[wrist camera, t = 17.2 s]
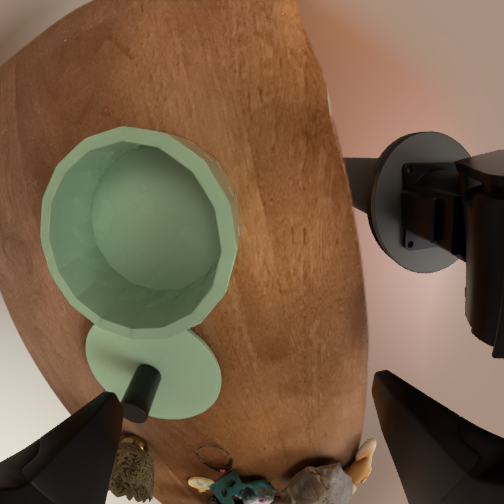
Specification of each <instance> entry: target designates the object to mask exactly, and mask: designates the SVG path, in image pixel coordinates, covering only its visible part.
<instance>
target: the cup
mask: <svg viewBox="0 0 504 504" xmlns="http://www.w3.org/2000/svg"><path fill="white" fill-rule="evenodd" d="M148 450H149V449H148V445H147V443H146V442H145V441H144V440H143V439H141V438H139V437H137V436H134V435H125V436H123V437H122V438H121V440H120V442H119V446H118V451H117V455H116V459H115V463H114V467H113V471H112V475H111V479H110V483H109V488H108V491H109V490H111V492H112V493H113V494H114V495H115V496H116V497H121V496H124V495H127V498H128V500H131V499H132V497H133V496H134V498H135V500H136V501H137V502H140V501H143V502H145V501H146V499H149V502H150V500H151V499H152V495H153V485H154V463H153V460H152V458H151V457H150V455H149V454H148V453H147V452H148Z"/></svg>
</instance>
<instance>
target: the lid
mask: <svg viewBox="0 0 504 504" xmlns="http://www.w3.org/2000/svg"><path fill="white" fill-rule="evenodd" d="M86 357H87V361H88V364H89V367H90V369H91V371H92V373H93V375H94V376H95V378H96V379H97V381H98V382H99V383H100V385H101V386H102V387H103V388H104V389H105V390H106V391H107V392H114V393H115V394H116V395H117V397H118V399H119V401H120V403H121V404H122V406H123V409H124V415H123V417H124V418H126V419H127V420H129V421H132V422H135V423H143V422H145V421H146V420H147V418H148V416H152V417H156V418H162V419H183V418H189V417H193V416H195V415H198V414H200V413H202V412H204V411H205V410H207V409H208V408H210V406H211V405H212V404H213V403H214V402H215V401H216V399H217V398H218V395H219V393H220V389H221V370H220V367H219V364H218V361H217V359H216V357H215V355H214V354H213V352H212V351H211V349H210V348H209V347H208V345H207V344H206V343H205V342H204V341H203V340H202V339H201V338H200V337H199V336H198V335H197V334H196V333H194V332H193V331H192V330H190V329H188V330H185V331H183V332H181V333H179V334H177V335H175V336H173V337H170V338H166V339H130V338H127V337H124V336H121V335H118V334H116V333H113V332H110V331H107V330H104V329H102V328H100V327H98V326H97V325H95V324H94V325H93V326H92V327H91V329H90V331H89V333H88V335H87V338H86Z"/></svg>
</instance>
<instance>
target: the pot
mask: <svg viewBox="0 0 504 504" xmlns="http://www.w3.org/2000/svg"><path fill="white" fill-rule="evenodd" d="M240 231H241V220H240V213H239V205H238V199H237V192H236V190H235V188H234V186H233V185H232V183H231V181H230V179H229V177H228V175H227V174H226V172H225V171H224V169H223V168H222V166H221V164H220V163H219V161H218V160H217V159H216V158H214V157H213V156H212V155H210V154H209V153H208V152H206V151H205V150H204V149H202V148H201V147H199V146H198V145H196V144H195V143H193V142H192V141H191V140H188V139H185V138H182V137H178V136H175V135H172V134H168V133H164V132H159V131H153V130H147V129H141V128H135V127H129V126H121V127H118V128H114V129H111V130H108V131H105V132H102V133H99V134H96V135H93V136H90V137H87V138H86V139H84V140H83V141H82V142H80V143H79V144H78V145H77V146H76V147H75V148H74V149H73V150H72V151H71V152H70V153H69V154H68V155H67V156H66V157H65V158H64V159H63V160H62V161H61V162H60V163H59V164H58V165H57V166H56V168H55V170H54V173H53V175H52V177H51V179H50V182H49V184H48V186H47V189H46V191H45V194H44V196H43V199H42V209H41V229H40V237H41V238H40V239H41V243H42V247H43V251H44V254H45V258H46V261H47V265H48V268H49V271H50V274H51V276H52V278H53V279H54V281H55V282H56V284H57V285H58V287H59V288H60V290H61V291H62V293H63V294H64V296H65V297H66V299H67V300H68V302H69V303H70V304H71V306H73V307H74V308H75V309H76V310H77V311H79V312H80V313H81V314H82V315H84V316H85V317H86V318H87V319H89V320H90V321H91V322H93V323H94V324H95V325H97V326H98V327H100V328H102V329H104V330H107V331H110V332H113V333H116V334H118V335H121V336H124V337H127V338H130V339H166V338H170V337H173V336H175V335H177V334H179V333H181V332H183V331H185V330H188V329H190V328H192V327H194V326H196V325H198V324H200V323H201V322H202V321H203V320H204V319H205V318H206V316H207V315H208V314H209V313H210V312H211V310H212V309H213V308H214V307H215V306H216V304H217V303H218V302H219V301H220V300H221V298H222V297H223V296H224V295H225V293H226V291H227V288H228V284H229V281H230V277H231V273H232V269H233V266H234V262H235V258H236V255H237V250H238V243H239V237H240Z"/></svg>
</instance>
